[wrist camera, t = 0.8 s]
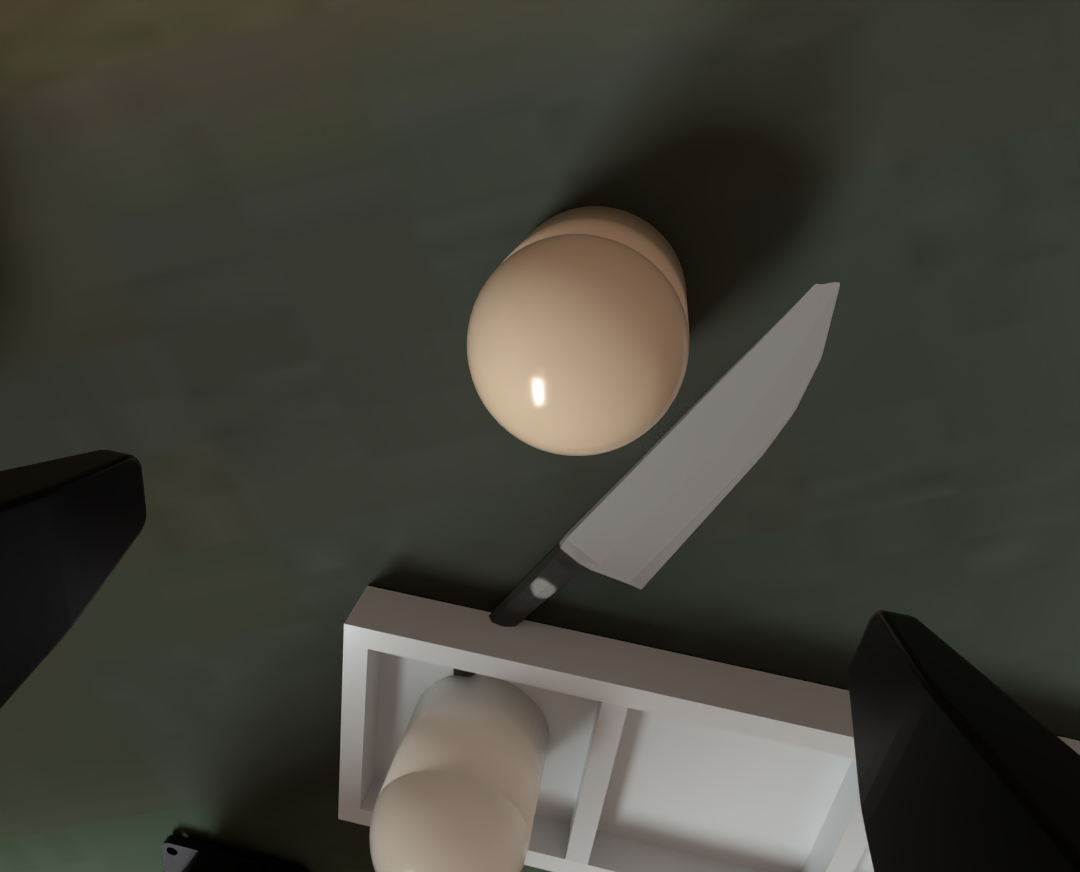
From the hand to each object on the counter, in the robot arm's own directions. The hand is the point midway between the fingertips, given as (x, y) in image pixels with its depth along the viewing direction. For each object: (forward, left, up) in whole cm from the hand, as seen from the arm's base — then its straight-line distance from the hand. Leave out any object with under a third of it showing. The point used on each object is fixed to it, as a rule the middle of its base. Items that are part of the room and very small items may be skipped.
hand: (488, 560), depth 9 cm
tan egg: (0, 0, -12) cm, 12 cm away
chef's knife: (-6, -3, -13) cm, 14 cm away
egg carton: (-15, -7, -12) cm, 21 cm away
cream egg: (-15, +1, -12) cm, 19 cm away
